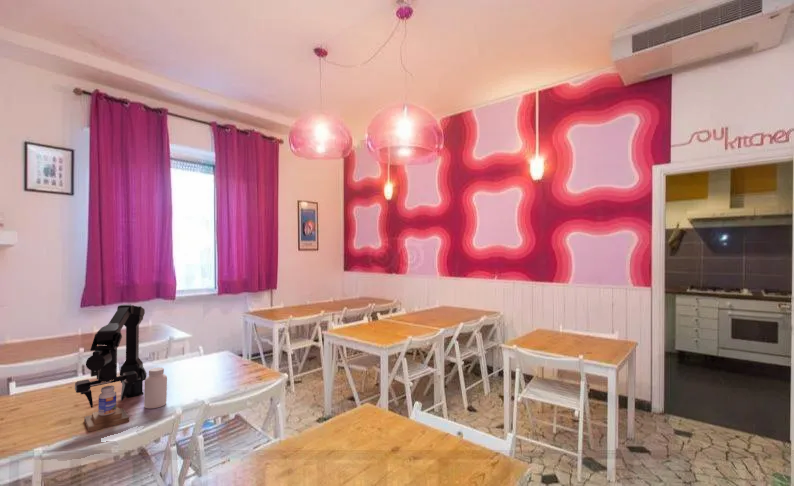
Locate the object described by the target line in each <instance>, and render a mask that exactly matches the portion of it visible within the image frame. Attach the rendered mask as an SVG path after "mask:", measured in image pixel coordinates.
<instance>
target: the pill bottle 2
mask: <svg viewBox="0 0 794 486" xmlns="http://www.w3.org/2000/svg"><path fill="white" fill-rule="evenodd" d="M164 372H165V369H164V367H152V368H150V369H149V370H148V376H146V379H145V380H144V390H143V391H144V392H143V393H144V394H143V395H144V396H143V397H144V398H143V405H144V408H145V409H148V410H149V409H157V408H160V407H163V406H165V405H166V404H167V397H168V396H167V395H168V393H167V390H168V377H167V375H166V374H165V373H164Z"/></svg>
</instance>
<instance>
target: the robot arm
mask: <svg viewBox="0 0 794 486" xmlns="http://www.w3.org/2000/svg"><path fill="white" fill-rule="evenodd" d="M145 312H146V311H145V308H144V307H142V306H141V305H133V304H129V303H128V304H120V305H117V309H116V312H115V313H114V314H113V316H112V318H111V319H110V321H108V323H107V324H106V325H104V326H102V327H101V328H99V329H98V331H97V332H96V333H95V334H94V338H93V341H92V344H91V346H90V352H92V355H91V356H89V357H88V358H87V359H86V362H85V367H86V368H87V369H88V370H89V371H90V377H91V378H93V377H96V380H93V381H90V379H88V378H87V379H83V380H77V381H75V383H74V391H75V393H76V394H79V393H80V395H85V397H86V399H87V400H88V401H87V402H88V403H89V406H90V408H91V409H92V408H94V407H93V406H94V402H93V394H92V390H91V388H92V387H97V386H101V385H102V386H103V385H107V384H113V383H117V382H120V383H121V384H122V385H121V392H120V401H121V402H122V401H124V398H125V399H128V398H131V397H137V396H140V395H144V392H143V388H144V387H143V383H144V381H145V379H146V378H147V377H148V376H147V372H146V369H145V368H144V365H143V364H144V363H143V361H142V360H141V359H140V357H139V351H140V350H139V349H140V348H139V344H140V343H139V341H140V339H139V337H140V336H139V334H140V333H139V332H140V324H141V323H142V321H143V320H144V317H145ZM123 327H125V361H124V363H122V365H121V366H120V371H119V376H118V374H117V373H118V370H117V369H118V347H120V344H121V341H122V338H123V335H122V329H123Z"/></svg>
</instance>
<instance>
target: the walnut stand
mask: <svg viewBox="0 0 794 486" xmlns="http://www.w3.org/2000/svg"><path fill="white" fill-rule="evenodd" d="M128 422H130V416H129V414H128V413H127V412H126V411H125V408H124V407H121V408H120V407H118V406H116V412H114V413H113V414H110V415H105V416H101V415H99V414H98V411H94V412H92V413H91V414H90V415H86V416H84V424H85V425H86V428H87V430H88V432H94V431H96V430H101V429H105V428H108V427H113V426H115V425H120V424H124V423H128Z"/></svg>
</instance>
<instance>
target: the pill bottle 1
mask: <svg viewBox="0 0 794 486" xmlns="http://www.w3.org/2000/svg"><path fill="white" fill-rule="evenodd" d="M100 389H101V390H100V392H101V393H100V394H99V395H98V408H97V409H98V411H97V412H98V414H99V415H101V416H105V415H110V414H113V413H114V412H116V407H117V392H116V391H115V385H106V386H103V387H101V388H100Z"/></svg>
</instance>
